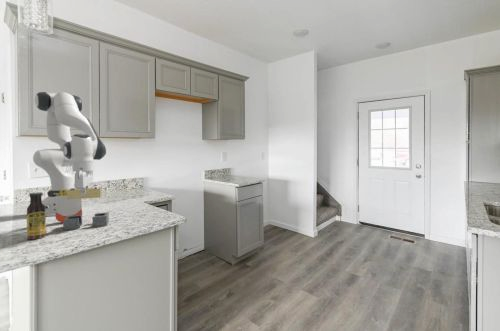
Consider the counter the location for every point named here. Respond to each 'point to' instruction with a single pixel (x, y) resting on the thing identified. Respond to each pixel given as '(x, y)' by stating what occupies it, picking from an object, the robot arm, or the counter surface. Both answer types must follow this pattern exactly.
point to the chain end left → (72, 222)
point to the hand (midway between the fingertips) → (84, 194)
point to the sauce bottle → (36, 217)
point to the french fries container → (66, 206)
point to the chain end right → (100, 219)
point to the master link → (90, 193)
